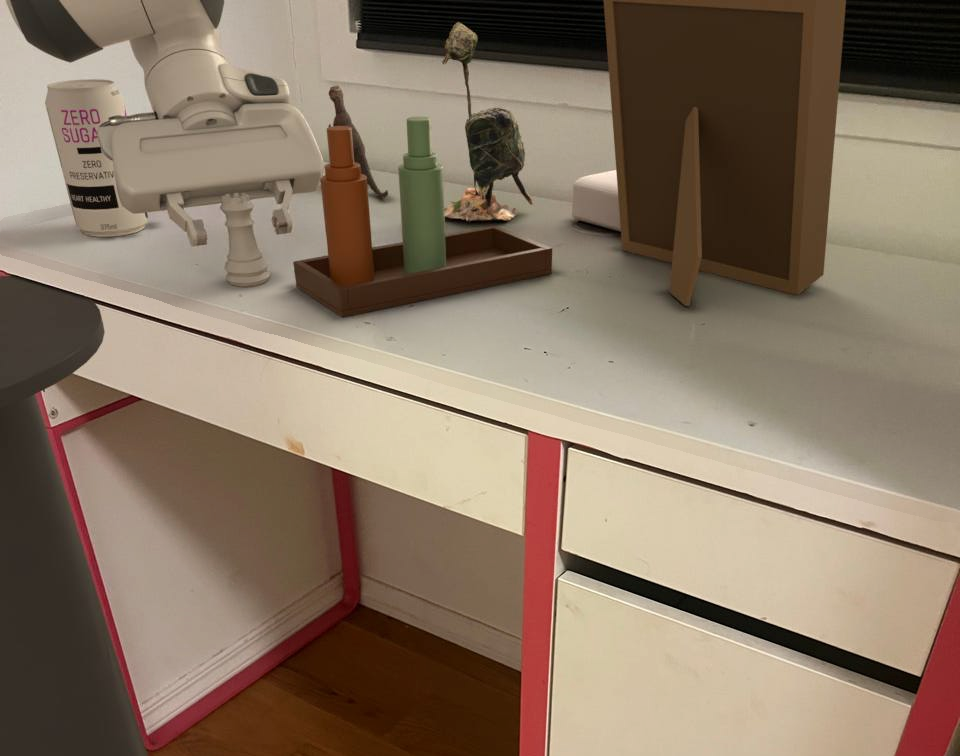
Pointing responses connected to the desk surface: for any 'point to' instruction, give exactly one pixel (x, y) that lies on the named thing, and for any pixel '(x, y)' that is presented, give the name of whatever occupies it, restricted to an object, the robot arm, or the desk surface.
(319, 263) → the tray
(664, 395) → the desk surface
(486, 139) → the plant with pod
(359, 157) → the dinosaur model
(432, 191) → the sage bottle
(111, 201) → the supplement can
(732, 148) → the photo frame
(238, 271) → the rook chess piece
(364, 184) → the amber bottle
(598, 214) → the charger
